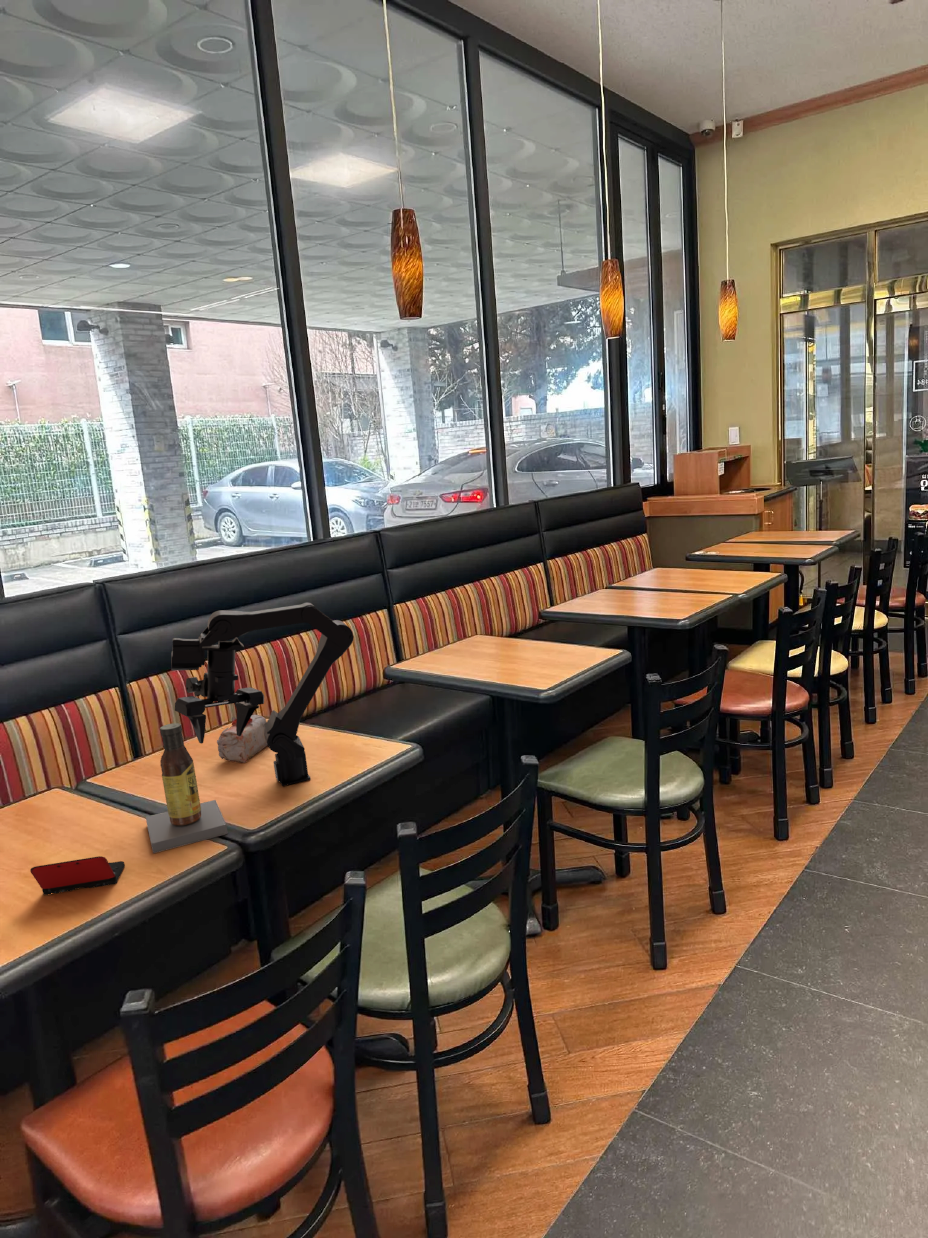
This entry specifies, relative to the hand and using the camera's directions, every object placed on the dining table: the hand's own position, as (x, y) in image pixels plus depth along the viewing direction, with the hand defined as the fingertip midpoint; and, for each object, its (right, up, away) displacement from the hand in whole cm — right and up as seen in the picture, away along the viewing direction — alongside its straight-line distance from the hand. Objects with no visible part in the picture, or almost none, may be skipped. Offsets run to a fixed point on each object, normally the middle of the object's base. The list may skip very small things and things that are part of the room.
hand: (220, 739), depth 182 cm
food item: (-1, -8, +26) cm, 27 cm away
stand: (-2, -16, -15) cm, 22 cm away
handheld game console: (-15, -22, -33) cm, 42 cm away
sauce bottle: (-2, -14, -15) cm, 21 cm away
